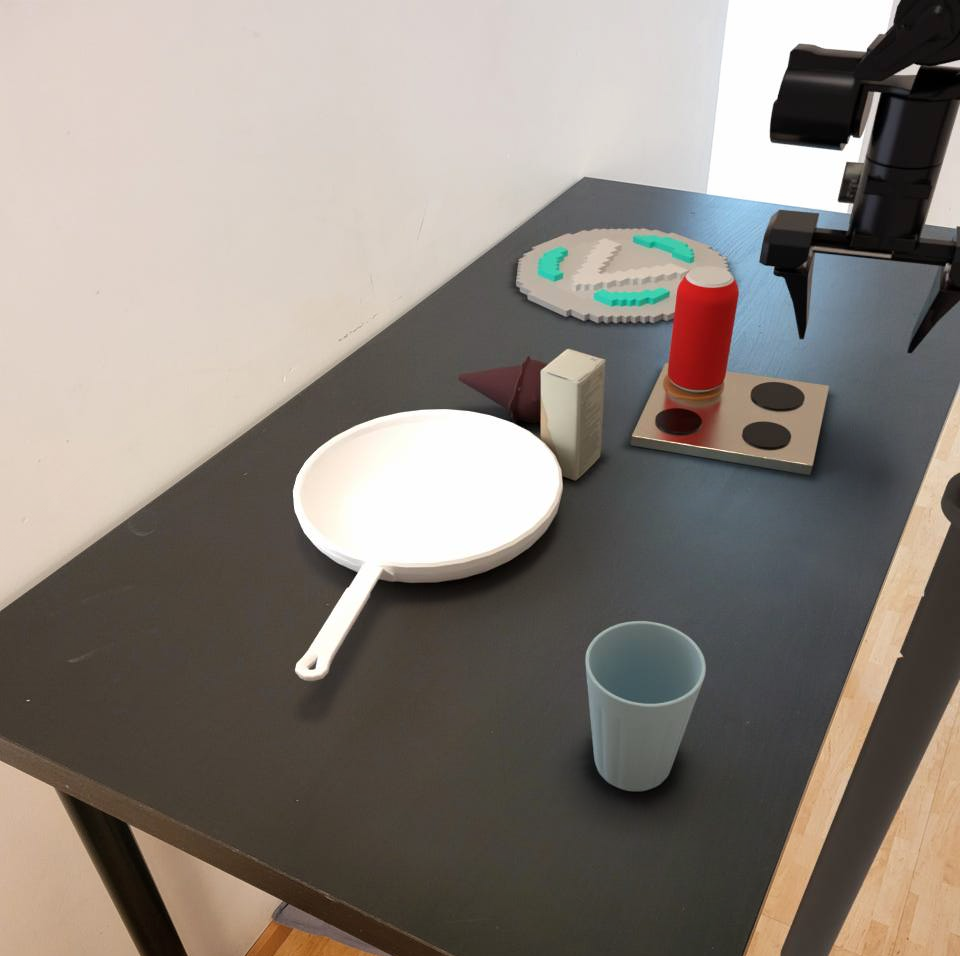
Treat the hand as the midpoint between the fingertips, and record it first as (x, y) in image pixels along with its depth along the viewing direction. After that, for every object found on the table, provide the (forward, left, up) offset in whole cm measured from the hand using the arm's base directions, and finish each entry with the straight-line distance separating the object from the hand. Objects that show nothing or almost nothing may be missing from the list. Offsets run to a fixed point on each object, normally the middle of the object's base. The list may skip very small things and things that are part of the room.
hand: (854, 344), depth 84 cm
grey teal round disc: (+30, -38, -13) cm, 50 cm away
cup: (+9, +42, -13) cm, 45 cm away
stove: (+10, -6, -13) cm, 17 cm away
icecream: (+31, 0, -13) cm, 34 cm away
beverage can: (+15, -10, -12) cm, 21 cm away
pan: (+34, +26, -13) cm, 45 cm away
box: (+24, +7, -13) cm, 28 cm away
